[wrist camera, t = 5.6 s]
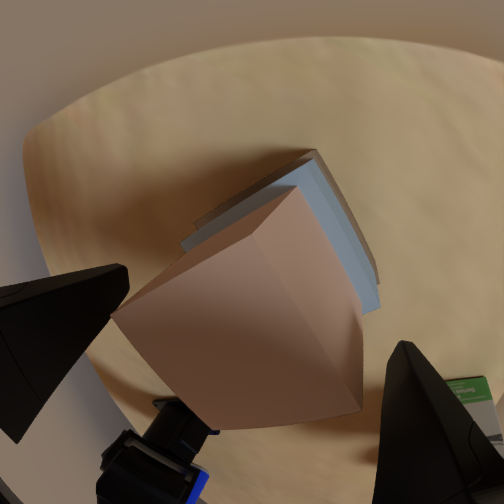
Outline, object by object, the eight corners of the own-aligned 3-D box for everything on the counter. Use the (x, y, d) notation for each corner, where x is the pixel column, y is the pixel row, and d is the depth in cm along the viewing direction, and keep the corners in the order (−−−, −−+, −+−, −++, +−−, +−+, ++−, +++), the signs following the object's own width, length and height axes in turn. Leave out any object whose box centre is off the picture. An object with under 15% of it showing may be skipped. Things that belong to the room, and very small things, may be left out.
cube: (256, 341, 12) (212, 429, 8) (191, 248, 11) (109, 315, 7) (361, 303, 10) (361, 411, 6) (297, 185, 9) (252, 233, 5)
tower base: (274, 300, 18) (262, 327, 16) (217, 208, 17) (193, 222, 14) (374, 258, 15) (379, 283, 12) (317, 148, 14) (311, 150, 11)
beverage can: (180, 458, 36) (141, 520, 23) (207, 467, 35) (170, 534, 22) (188, 468, 38) (153, 526, 25) (213, 477, 37) (180, 538, 24)
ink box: (441, 378, 16) (456, 513, 6) (488, 374, 15) (515, 493, 4) (409, 433, 19) (404, 537, 9) (450, 430, 18) (454, 527, 8)
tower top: (271, 315, 15) (255, 351, 12) (209, 222, 14) (179, 242, 11) (374, 272, 12) (380, 307, 10) (313, 158, 11) (304, 164, 9)
